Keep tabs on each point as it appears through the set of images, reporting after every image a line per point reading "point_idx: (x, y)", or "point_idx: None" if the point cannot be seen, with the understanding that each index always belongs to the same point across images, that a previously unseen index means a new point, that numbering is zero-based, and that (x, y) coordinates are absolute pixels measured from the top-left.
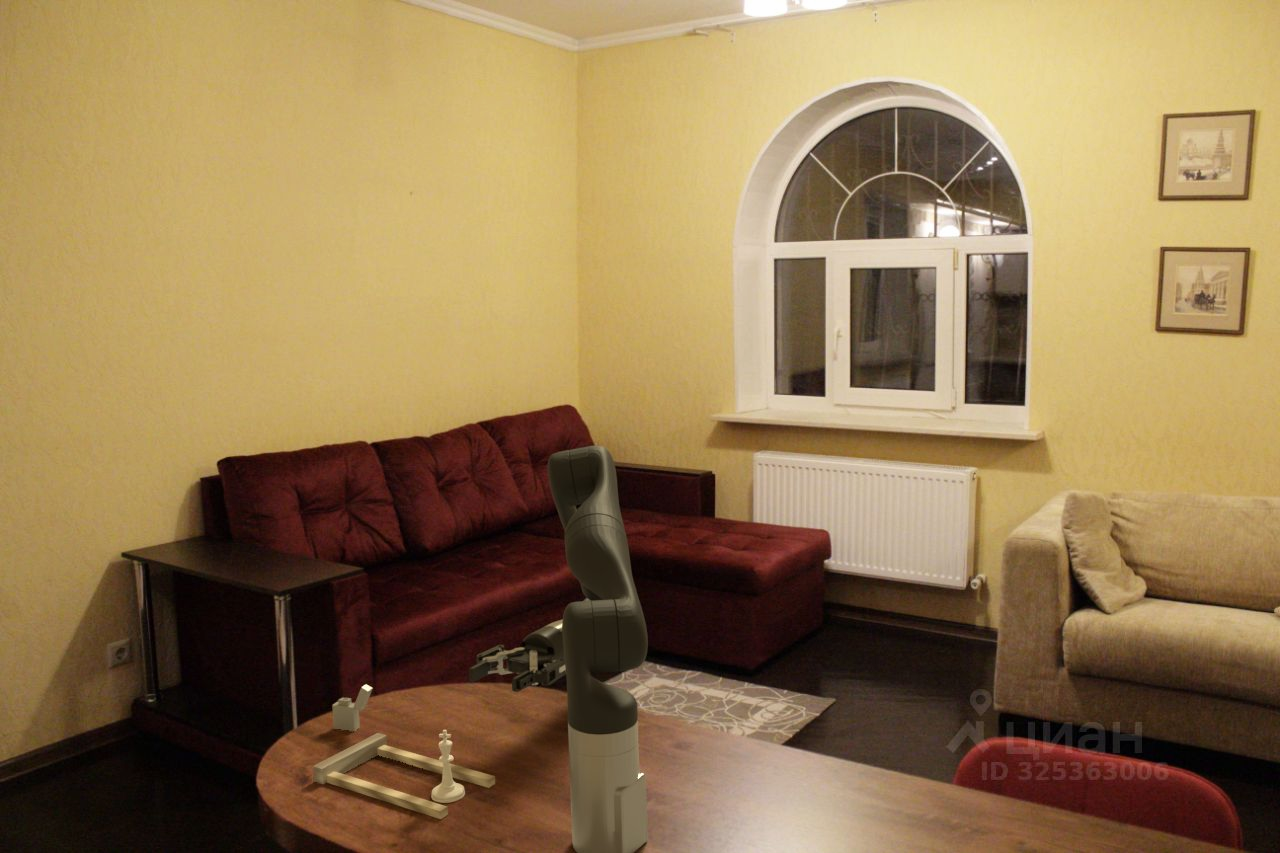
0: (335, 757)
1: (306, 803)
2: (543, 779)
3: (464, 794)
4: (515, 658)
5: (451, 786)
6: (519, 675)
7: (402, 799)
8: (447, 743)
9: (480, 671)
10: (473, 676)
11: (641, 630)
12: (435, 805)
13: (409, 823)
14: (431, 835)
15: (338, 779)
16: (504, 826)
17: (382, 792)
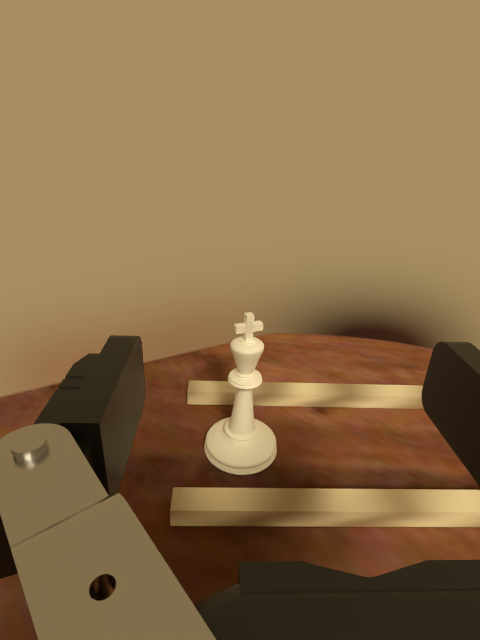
0: None
1: (406, 361)
2: (26, 624)
3: (207, 457)
4: (457, 620)
5: (226, 424)
6: (114, 360)
7: (278, 382)
8: (237, 339)
9: (466, 412)
10: (430, 379)
11: None
12: (210, 387)
13: (227, 374)
14: (172, 367)
15: None
16: None
17: (328, 384)
